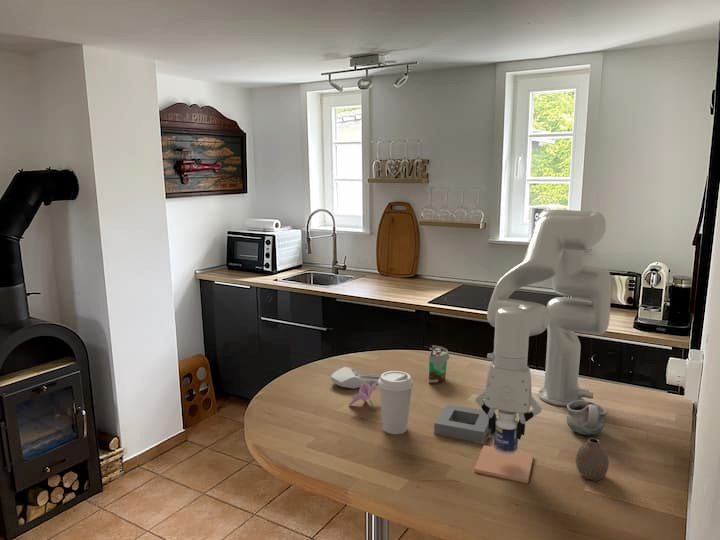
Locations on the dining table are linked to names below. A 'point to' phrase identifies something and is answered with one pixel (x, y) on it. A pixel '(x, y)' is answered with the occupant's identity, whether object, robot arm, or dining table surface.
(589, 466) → the vase
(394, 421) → the coffee cup
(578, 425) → the mug
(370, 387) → the lily
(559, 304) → the robot arm
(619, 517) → the dining table surface
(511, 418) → the pill bottle
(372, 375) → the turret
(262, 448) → the dining table surface
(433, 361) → the food container
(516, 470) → the terracotta tile
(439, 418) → the bottle holder
